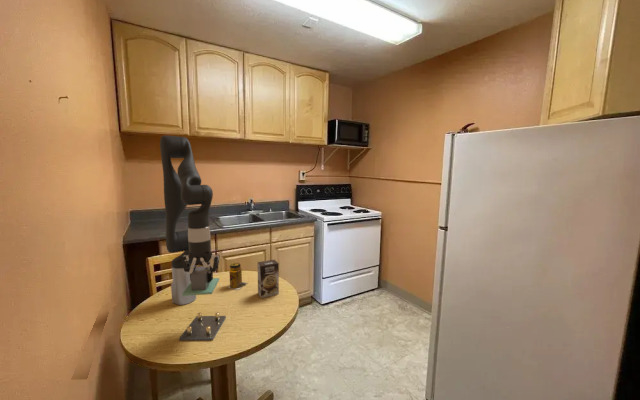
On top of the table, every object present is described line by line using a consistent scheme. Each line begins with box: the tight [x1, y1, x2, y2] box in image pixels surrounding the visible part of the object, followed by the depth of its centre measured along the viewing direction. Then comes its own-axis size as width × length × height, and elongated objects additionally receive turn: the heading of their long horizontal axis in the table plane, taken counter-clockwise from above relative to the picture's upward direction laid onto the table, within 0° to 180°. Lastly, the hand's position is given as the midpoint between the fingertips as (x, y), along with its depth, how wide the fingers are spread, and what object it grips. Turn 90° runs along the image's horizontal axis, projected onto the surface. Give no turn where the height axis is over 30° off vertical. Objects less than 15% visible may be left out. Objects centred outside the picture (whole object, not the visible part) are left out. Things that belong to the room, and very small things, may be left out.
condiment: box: [226, 262, 248, 291], centre depth 138 cm, size 7×8×12 cm
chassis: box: [179, 312, 227, 341], centre depth 102 cm, size 12×14×4 cm
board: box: [182, 265, 220, 296], centre depth 100 cm, size 10×12×7 cm
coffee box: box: [257, 259, 280, 299], centre depth 130 cm, size 9×6×16 cm
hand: (201, 281), depth 100 cm, fingers closed on board, 5 cm apart
